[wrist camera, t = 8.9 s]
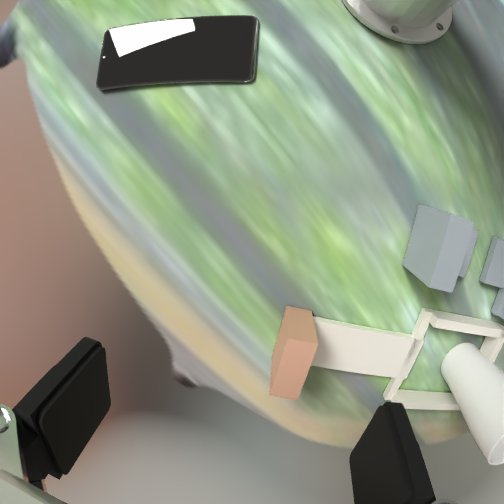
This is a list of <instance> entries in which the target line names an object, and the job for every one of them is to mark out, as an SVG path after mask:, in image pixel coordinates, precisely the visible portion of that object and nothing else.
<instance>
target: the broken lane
mask: <svg viewBox="0 0 504 504" xmlns="http://www.w3.org/2000/svg"><path fill="white" fill-rule="evenodd" d="M473 225H474V222H472V221H470V220H467V219H464V218H462V217H459V216H456V215H453V214H451V213H447V212H444V211H441V210H437V209H434V208H430V207H427V206H423V205H420V204H419V206H418V210H417V214H416V218H415V222H414V226H413V229H412V233H411V236H410V240H409V243H408V247H407V250H406V253H405V257H404V260H403V263H402V265H403V266H404V267H406V268H407V269H408V270H409V271H410V272H411V273H413V274H414V275H415V276H416V277H417V278H418V279H420V280H421V281H422V282H423V283H424V284H425V285H427V286H428V287H429V288H434V289H438V290H442V291H446V292H451V293H452V292H453V289H454V286H455V284H456V281H457V278H458V276H460V277H465V274H466V271H467V268H468V265H469V262H470V259H471V256H472V253H473V249H474V246H475V243H476V239H477V236H478V232H479V230H476V229H473ZM479 280H480V281H482V282H483V283H486V284H489V285H493V286H496V287H500V288H499V291H498V294H497V297H496V299H495V302H494V304H493V307H492V309H491V313H493V314H494V315H496V316H500V317H501V318H502V319H503V320H504V240H502V239H500V238H497V237H495V236H493V238H492V241H491V245H490V248H489V252H488V255H487V258H486V261H485V265H484V268H483V271H482V274H481V277H480V279H479Z"/></svg>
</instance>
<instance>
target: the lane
mask: <svg viewBox="0 0 504 504" xmlns="http://www.w3.org/2000/svg"><path fill="white" fill-rule="evenodd" d="M429 323H430V324H431V325H432V326H433V327H435V328H440V329H446V330H452V331H458V332H464V333H470V334H476V335H483V336H486V337H485V339H484V342H483V344H482V346H481V348H480V351H481V352H482V353H483V354H484V355H485V356H486V357H487V358H489V359H490V360H491V361H492V362H493V363H494V361H495V359H496V357H497V355H498V353H499V351H500V349H501V347H502V345H503V343H504V327H503V326H502V325H501V324H500V323H498V322H493V321H488V320H482V319H477V318H472V317H467V316H462V315H457V314H452V313H447V312H442V311H437V310H432V309H428V308H423V307H422V310H421V312H420V315H419V317H418V320H417V322H416V325H415V327H414V329H413V332H412V334H405V333H399V332H393V331H388V330H382V329H377V328H371V327H366V326H360V325H355V324H350V323H345V322H340V321H335V320H330V319H325V318H320V317H315V316H313V315H312V311H309V310H305V309H300V308H295V307H291V306H286V310H285V313H284V317H283V321H282V324H281V328H280V331H279V335H278V338H277V341H276V345H275V348H274V352H273V355H272V365H271V380H270V395H271V396H276V397H282V398H287V399H293V400H298V397H299V395H300V392H301V390H302V387H303V384H304V382H305V379H306V377H307V374H308V371H309V369H310V366H317V367H323V368H329V369H335V370H341V371H348V372H355V373H362V374H369V375H377V376H385V377H392V378H391V380H390V382H389V384H388V386H387V388H386V389H385V391H384V393H383V396H384V399H385V400H391V402H396V403H402V404H403V405H404V408H405V409H424V410H460V408H459V406H458V404H457V402H456V400H455V398H454V396H453V394H452V393H443V392H426V391H413V390H401V389H399V387H400V385H401V383H402V381H403V379H406V378H407V376H408V374H409V372H410V370H411V368H412V366H413V364H414V362H415V360H416V358H417V355H418V353H419V351H420V349H421V347H422V345H423V342H424V339H423V337H424V335H425V332H426V330H427V328H428V325H429Z"/></svg>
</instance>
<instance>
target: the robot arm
mask: <svg viewBox="0 0 504 504" xmlns="http://www.w3.org/2000/svg"><path fill="white" fill-rule="evenodd" d="M342 1H343V3H344V5H345V6H346V7H347V8H348V10H349V11H350V12H351V13H352V15H354V16H355V17H356V18H357V19H358V20H359V21H360V22H361V23H363V24H364V25H365V26H367V27H368V28H370V29H371V30H373V31H375V32H376V33H378V34H380V35H382V36H384V37H387V38H389V39H392V40H394V41H398V42H402V43H406V44H426V43H429V42H432V41H435V40H436V39H438V38H439V37H441V36H442V35H443V34H444V33H446V31H447V30H448V28H449V27H450V24H451V21H452V7H451V6H452V5H453V4H454V3H455V2H457V1H458V0H342ZM393 32H394V33H393ZM110 405H111V399H110V392H109V383H108V374H107V364H106V352H105V348H103V347H102V345H101V343H100V342H99V341H96V340H93V339H90V338H87V337H84V338H83V339H82V340H81V341H80V342H79V343H78V344H77V345H76V346H75V347H74V348H73V349H72V350H71V351H70V352H69V353H68V354H67V355H66V356H65V357H64V358H63V359H62V360H61V361H60V362H59V363H58V364H57V365H55V366H54V367H52V368H51V370H49V371H48V372H47V373H46V375H45V376H44V377H43V378H42V379H41V380H40V381H39V382H38V383H37V384H36V385H35V386H34V387H33V388H32V389H31V390H30V391H29V392H28V393H27V394H26V395H25V396H24V398H23V399H22V400H21V401H20V402H19V403H18V404H17V405H16V406H15V407H14V408H13V409H12V410H11V409H10V408H8V407H7V406H5V405H2V404H0V504H67V503H65V502H63V501H61V500H59V499H57V498H55V497H53V496H51V495H50V494H48V493H47V489H46V485H45V481H44V479H45V478H46V476H47V475H48V474H50V475H52V476H54V477H56V478H57V479H60V478H61V476H62V475H63V474H64V475H66V474H68V473H69V471H70V470H71V468H72V467H73V465H74V463H75V462H76V460H77V458H78V457H79V456H80V454H81V452H82V451H83V449H84V448H85V446H86V444H87V443H88V441H89V440H90V438H91V437H92V435H93V434H94V432H95V431H96V429H97V427H98V426H99V424H100V423H101V421H102V420H103V418H104V417H105V415H106V414H107V412H108V411H109V408H110ZM350 469H351V476H352V485H353V494H354V503H355V504H457V503H455V502H454V501H452V500H449V499H439V500H436V498H435V495H434V492H433V488H432V485H431V482H430V478H429V475H428V472H427V469H426V466H425V463H424V460H423V457H422V454H421V451H420V448H419V445H418V443H417V441H416V438H415V436H414V433H413V430H412V427H411V424H410V421H409V419H408V416H407V413H406V411H405V408H404V405H403V404H402V403H396V402H386V403H384V405H383V406H379V407H378V409H377V411H376V413H375V414H374V416H373V418H372V420H371V421H370V423H369V425H368V426H367V428H366V430H365V431H364V433H363V435H362V436H361V438H360V440H359V441H358V443H357V444H356V446H355V448H354V449H353V451H352V452H351V455H350Z"/></svg>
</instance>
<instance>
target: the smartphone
mask: <svg viewBox="0 0 504 504" xmlns="http://www.w3.org/2000/svg"><path fill="white" fill-rule="evenodd" d="M258 29H259V21H258V19H257V18H256V17H255V16H247V15H229V16H201V17H186V18H175V19H165V20H157V21H149V22H142V23H135V24H130V25H124V26H119V27H113V28H110V29H108V30H107V31H106V32H105V34H104V39H103V44H102V50H101V55H100V61H99V68H98V75H97V82H96V86H97V88H98V89H99V90H107V89H115V88H124V87H133V86H144V85H157V84H173V83H204V82H230V83H249V82H252V81H253V80H254V78H255V71H256V57H257V43H258Z"/></svg>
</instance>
